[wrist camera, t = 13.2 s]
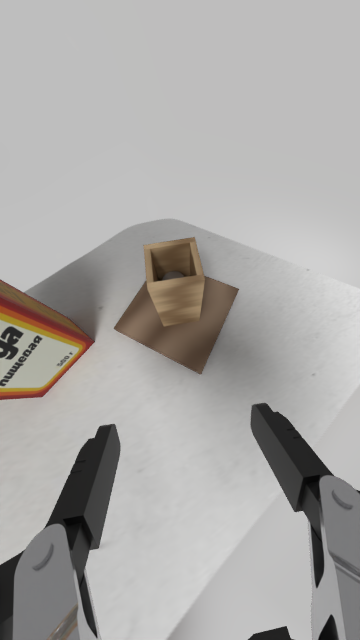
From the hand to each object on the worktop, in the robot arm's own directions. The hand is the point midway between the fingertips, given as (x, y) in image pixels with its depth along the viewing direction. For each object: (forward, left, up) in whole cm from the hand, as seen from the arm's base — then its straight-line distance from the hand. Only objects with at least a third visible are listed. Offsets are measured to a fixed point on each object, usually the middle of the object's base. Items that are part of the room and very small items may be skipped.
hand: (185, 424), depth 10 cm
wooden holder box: (-7, +11, -11) cm, 17 cm away
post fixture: (-7, +11, -12) cm, 18 cm away
